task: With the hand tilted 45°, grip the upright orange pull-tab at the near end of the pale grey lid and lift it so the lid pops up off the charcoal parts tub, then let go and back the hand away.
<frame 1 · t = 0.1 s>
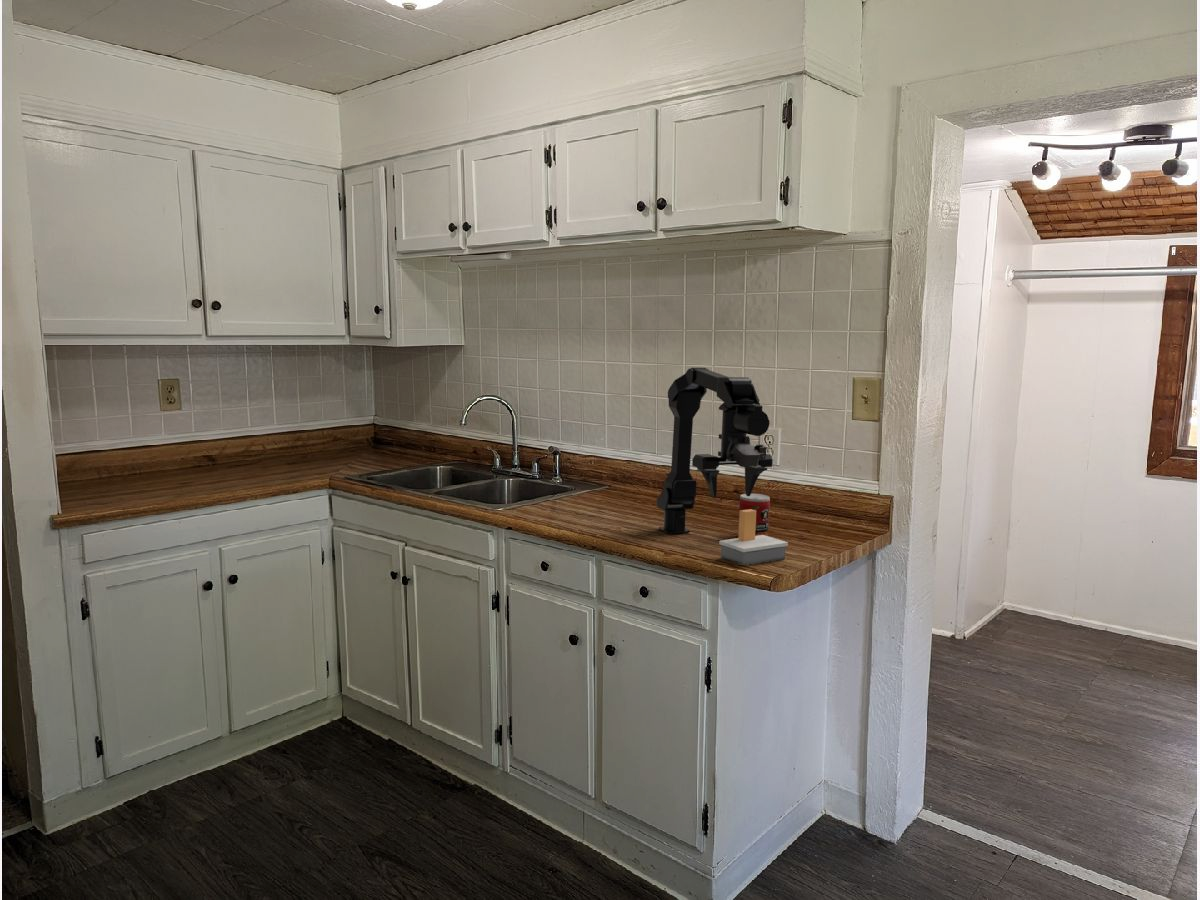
hand: (731, 497, 202), 15 cm above the counter, tool pointing down, fingers open, 9 cm apart
canned food: (752, 538, 225), on the counter
tub: (752, 558, 203), on the counter
lid: (754, 528, 202), point 7 cm above the counter, slide at 0.0 cm
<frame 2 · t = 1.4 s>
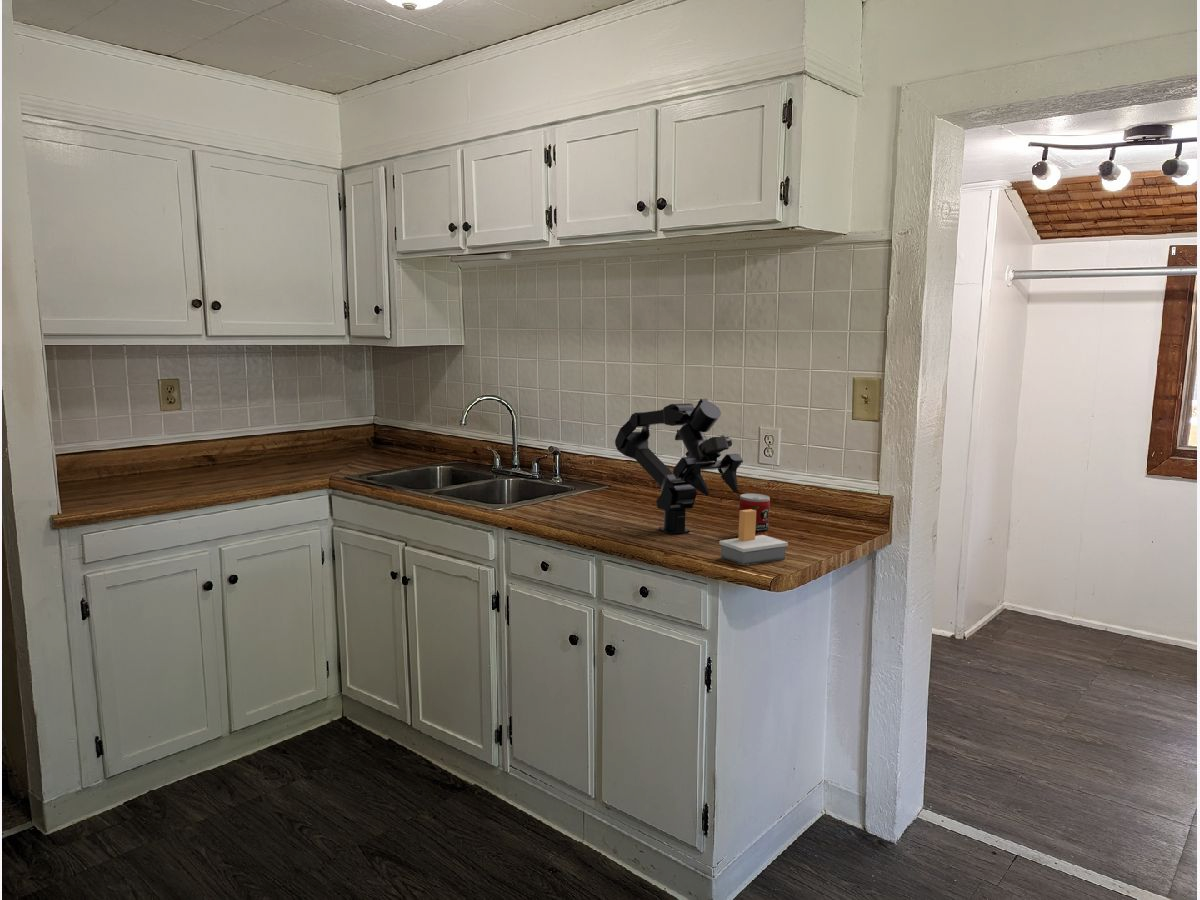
hand: (722, 493, 212), 14 cm above the counter, tool tilted 45°, fingers open, 9 cm apart
nothing on the counter moved.
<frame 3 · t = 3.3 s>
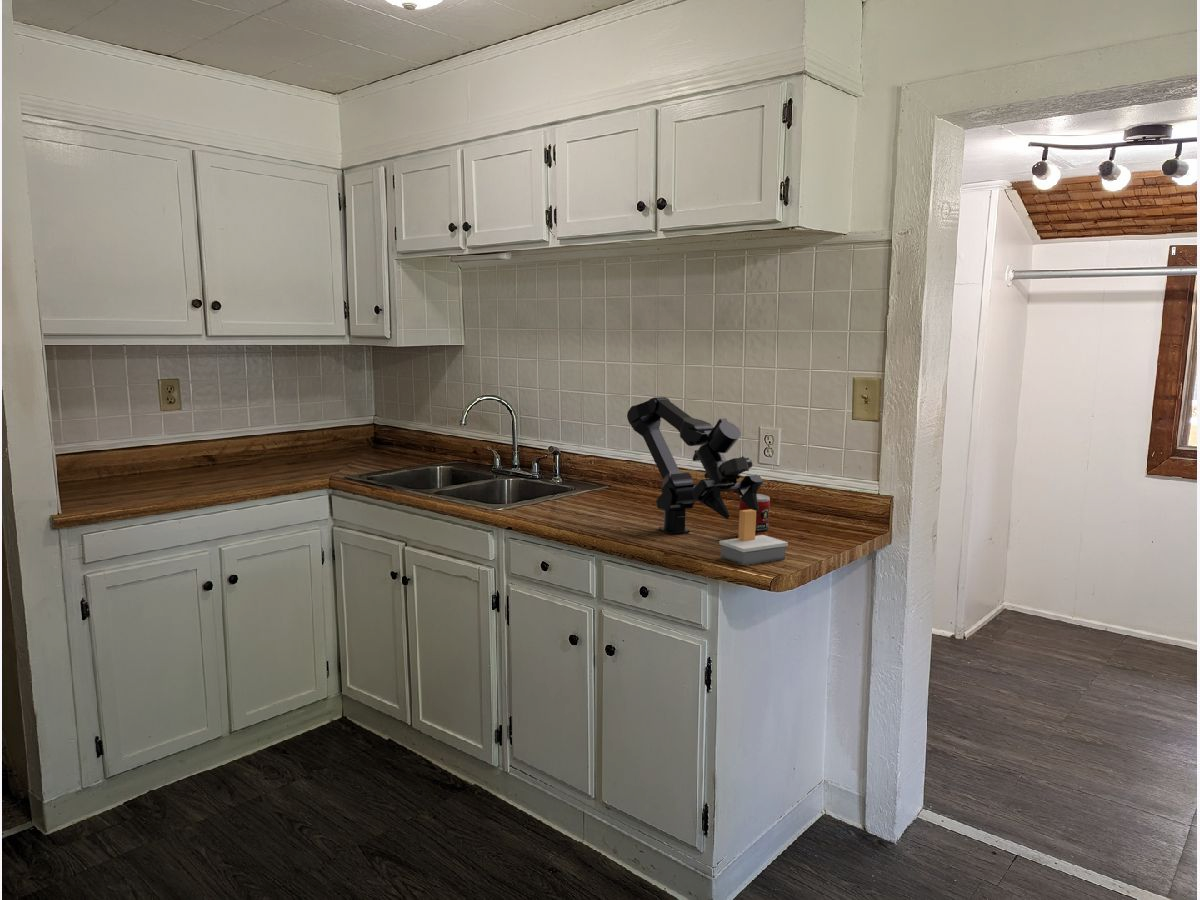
hand: (742, 516, 206), 9 cm above the counter, tool tilted 45°, fingers open, 9 cm apart
nothing on the counter moved.
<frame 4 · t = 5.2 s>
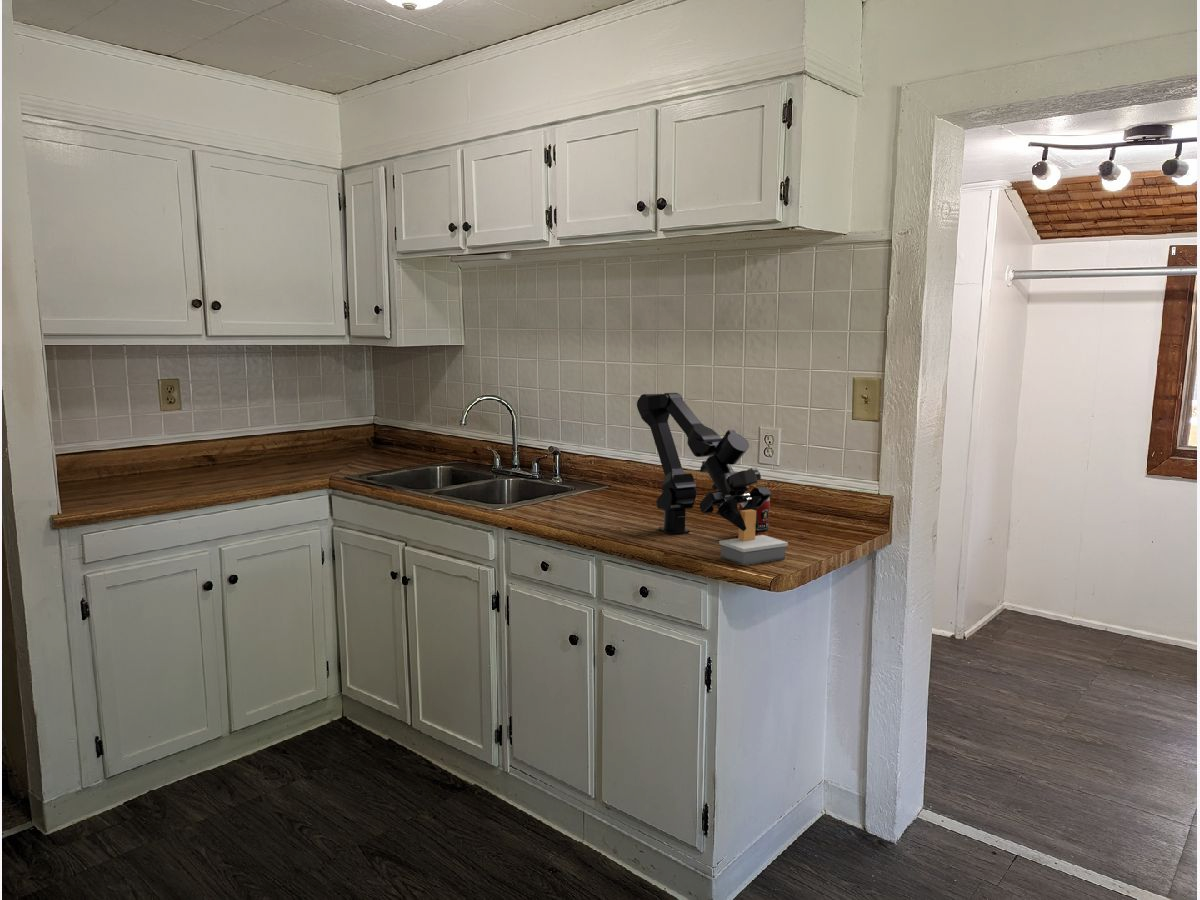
hand: (751, 529, 203), 7 cm above the counter, tool tilted 45°, fingers closed on lid, 3 cm apart
lid: (754, 528, 202), point 7 cm above the counter, slide at 0.0 cm, touching gripper
everything else where it was.
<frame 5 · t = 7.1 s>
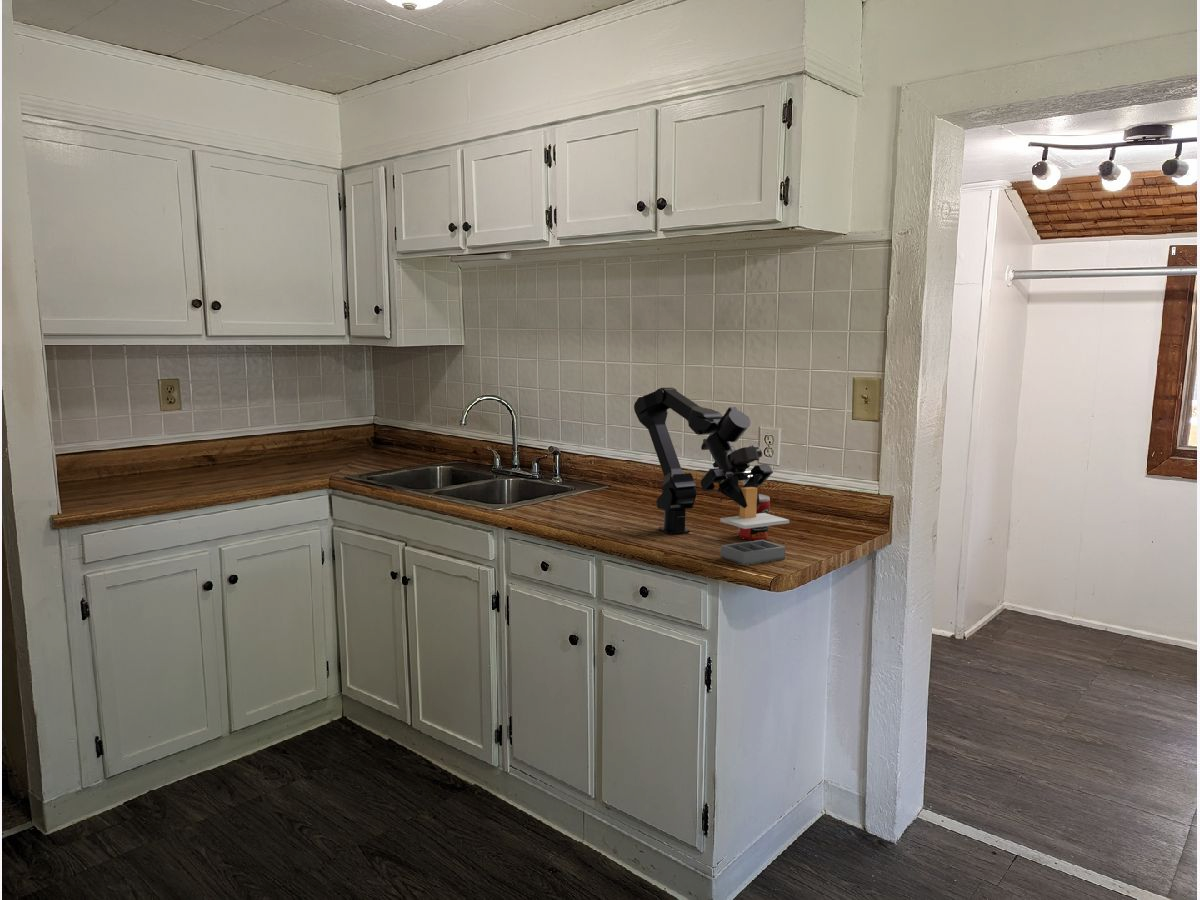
hand: (752, 506, 203), 12 cm above the counter, tool tilted 45°, fingers closed on lid, 3 cm apart
lid: (755, 506, 202), point 13 cm above the counter, slide at 5.5 cm, touching gripper
everything else where it was.
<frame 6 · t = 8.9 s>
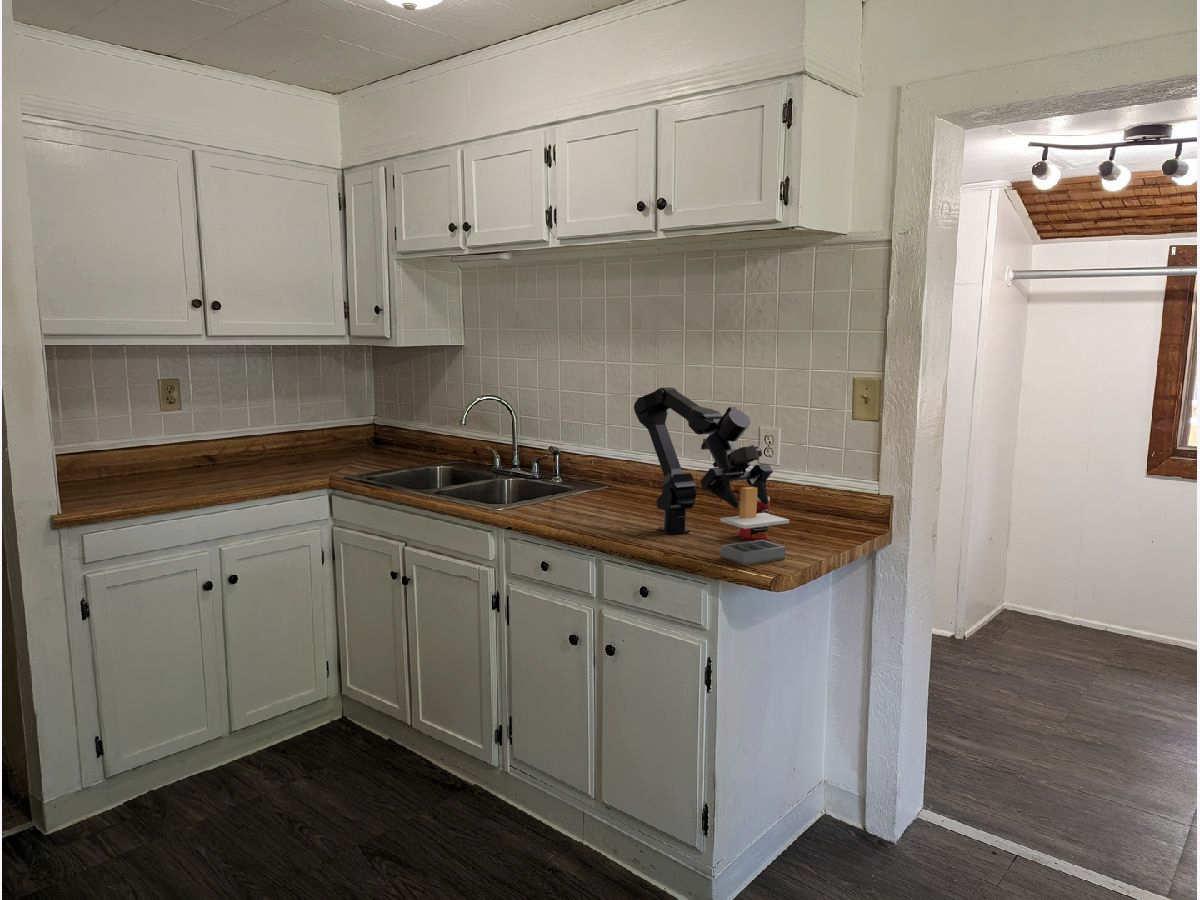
hand: (752, 505, 203), 13 cm above the counter, tool tilted 45°, fingers open, 9 cm apart
lid: (755, 505, 202), point 13 cm above the counter, slide at 5.5 cm
everything else where it was.
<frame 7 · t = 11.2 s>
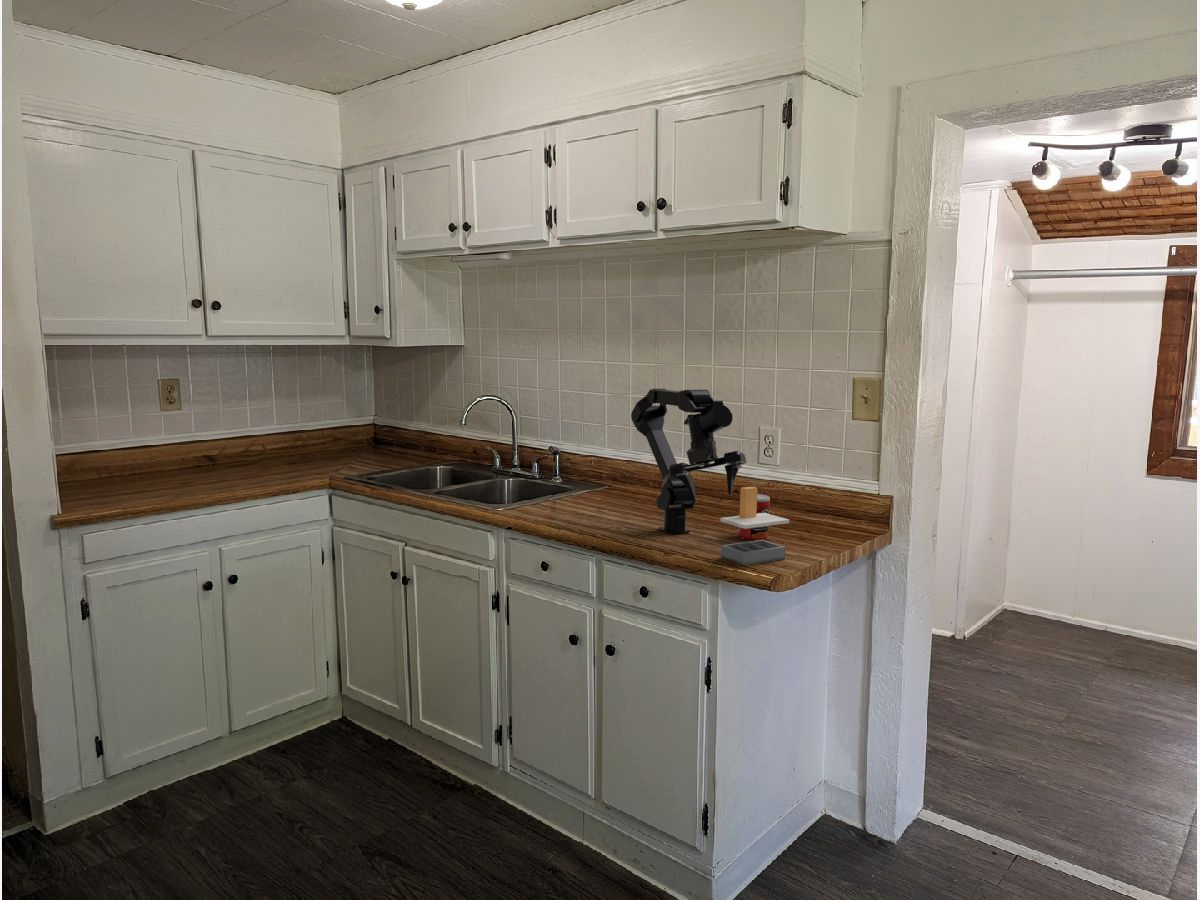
hand: (712, 498, 213), 12 cm above the counter, tool tilted 20°, fingers open, 9 cm apart
nothing on the counter moved.
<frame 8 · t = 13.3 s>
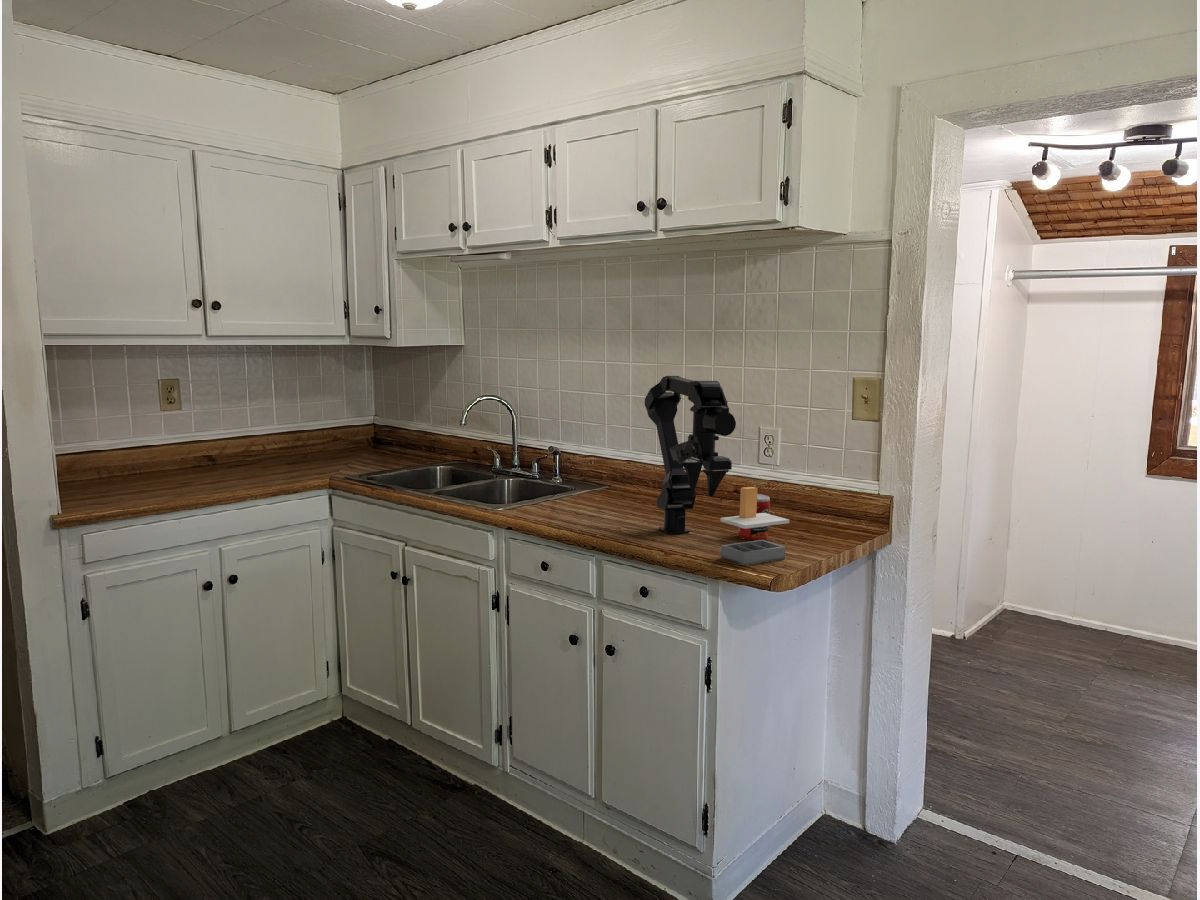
hand: (701, 493, 215), 13 cm above the counter, tool pointing down, fingers open, 9 cm apart
nothing on the counter moved.
at the end: lid slide at 5.5 cm; the gripper is holding nothing; canned food inside the target area (0.0 cm from its centre), on the counter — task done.
